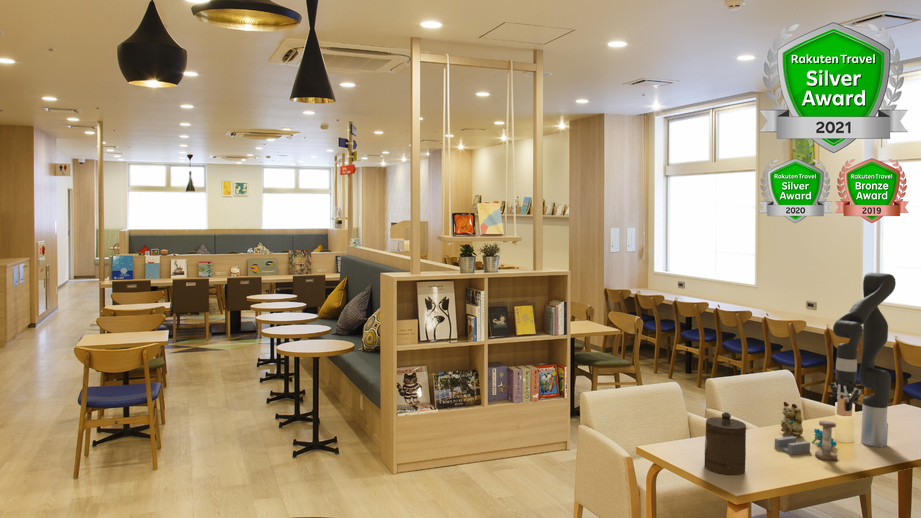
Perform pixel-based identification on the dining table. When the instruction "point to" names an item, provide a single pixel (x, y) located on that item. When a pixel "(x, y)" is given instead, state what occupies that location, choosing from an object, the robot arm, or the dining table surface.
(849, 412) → the copper tab
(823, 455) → the bobbin
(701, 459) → the dining table surface
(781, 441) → the grooved channel block
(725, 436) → the wooden container
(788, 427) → the decorative figurine
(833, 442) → the gear
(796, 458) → the dining table surface
